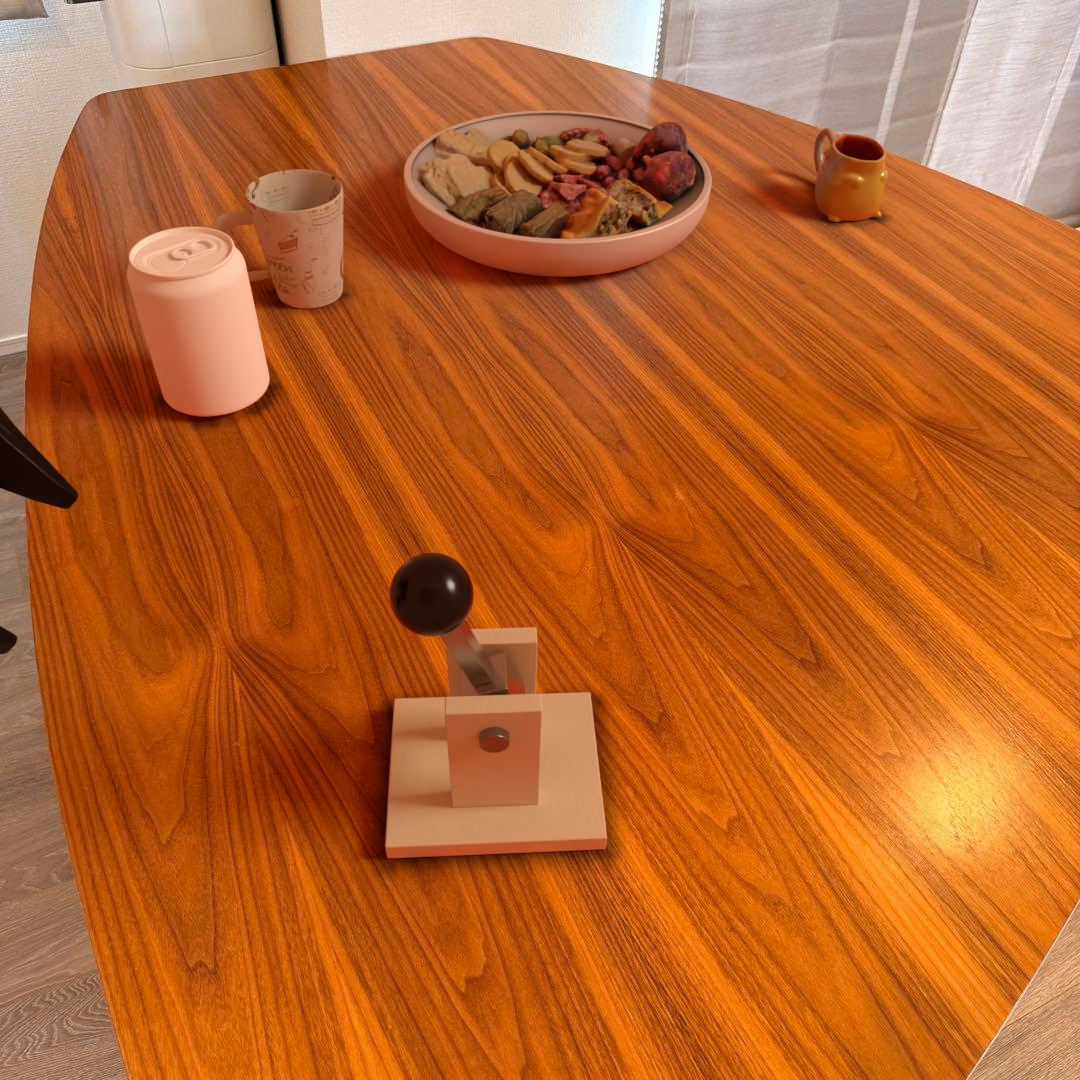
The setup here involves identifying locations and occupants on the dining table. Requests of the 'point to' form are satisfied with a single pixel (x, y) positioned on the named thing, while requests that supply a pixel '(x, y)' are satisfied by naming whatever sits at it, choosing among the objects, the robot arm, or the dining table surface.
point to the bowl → (558, 191)
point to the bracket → (494, 766)
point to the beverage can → (198, 320)
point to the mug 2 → (849, 176)
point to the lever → (450, 621)
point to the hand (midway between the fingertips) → (45, 568)
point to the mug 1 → (296, 234)
